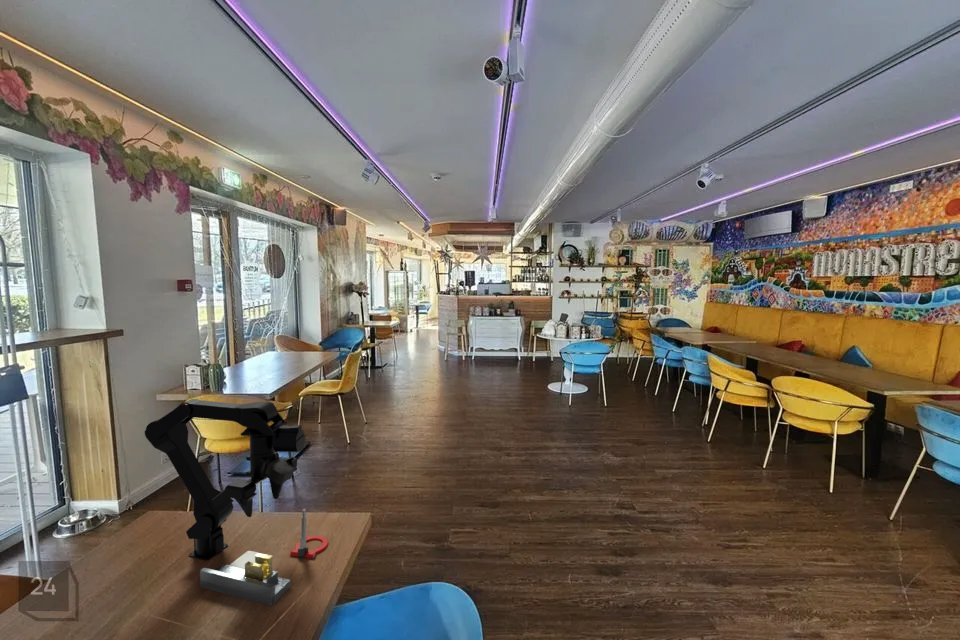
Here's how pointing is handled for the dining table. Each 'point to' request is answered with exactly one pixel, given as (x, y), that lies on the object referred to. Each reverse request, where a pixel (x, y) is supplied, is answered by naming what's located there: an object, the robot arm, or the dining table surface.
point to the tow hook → (301, 547)
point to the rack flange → (244, 584)
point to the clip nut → (259, 567)
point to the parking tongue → (245, 559)
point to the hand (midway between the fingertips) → (263, 507)
